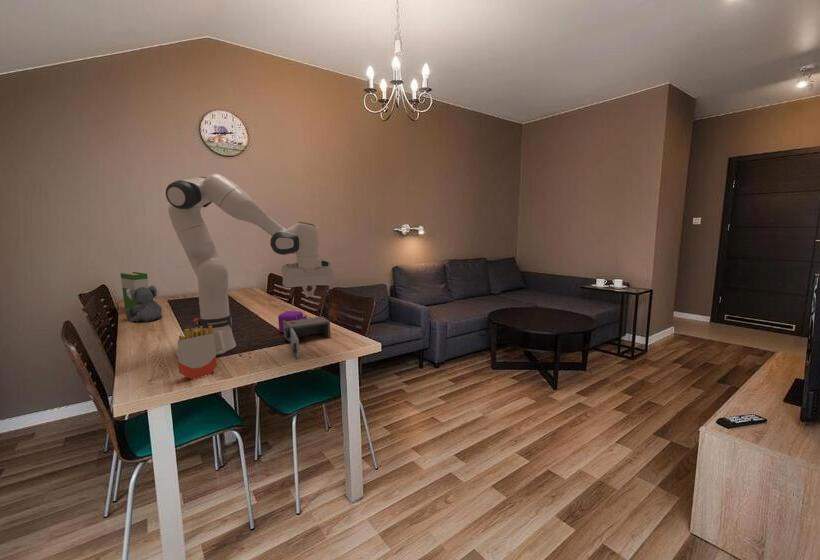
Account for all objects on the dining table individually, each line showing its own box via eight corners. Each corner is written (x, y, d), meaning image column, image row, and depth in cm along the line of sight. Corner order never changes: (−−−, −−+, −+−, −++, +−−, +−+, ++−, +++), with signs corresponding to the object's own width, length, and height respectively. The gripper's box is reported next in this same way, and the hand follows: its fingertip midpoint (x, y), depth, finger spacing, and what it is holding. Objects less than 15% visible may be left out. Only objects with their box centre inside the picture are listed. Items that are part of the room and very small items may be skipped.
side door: (288, 344, 163) (287, 328, 161) (293, 344, 163) (292, 327, 162) (294, 358, 146) (293, 340, 145) (299, 357, 147) (298, 339, 146)
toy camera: (305, 334, 179) (303, 314, 177) (277, 334, 179) (275, 314, 178) (311, 328, 189) (310, 309, 188) (285, 328, 190) (283, 309, 188)
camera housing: (289, 345, 163) (288, 326, 162) (282, 338, 172) (281, 320, 171) (330, 337, 173) (329, 319, 172) (322, 331, 182) (321, 315, 181)
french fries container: (179, 378, 128) (174, 328, 125) (212, 369, 136) (207, 322, 134) (184, 382, 125) (179, 331, 122) (217, 372, 133) (213, 324, 131)
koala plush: (161, 314, 222) (157, 282, 219) (168, 319, 210) (165, 285, 207) (125, 319, 210) (121, 286, 207) (131, 325, 198) (127, 289, 195)
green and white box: (125, 311, 231) (120, 273, 227) (138, 308, 237) (134, 271, 233) (137, 314, 221) (132, 275, 218) (151, 312, 228) (147, 273, 224)
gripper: (283, 264, 140) (285, 300, 142) (334, 261, 151) (335, 295, 153) (279, 263, 145) (281, 297, 147) (329, 260, 156) (330, 292, 158)
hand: (309, 296), depth 150 cm, fingers closed
